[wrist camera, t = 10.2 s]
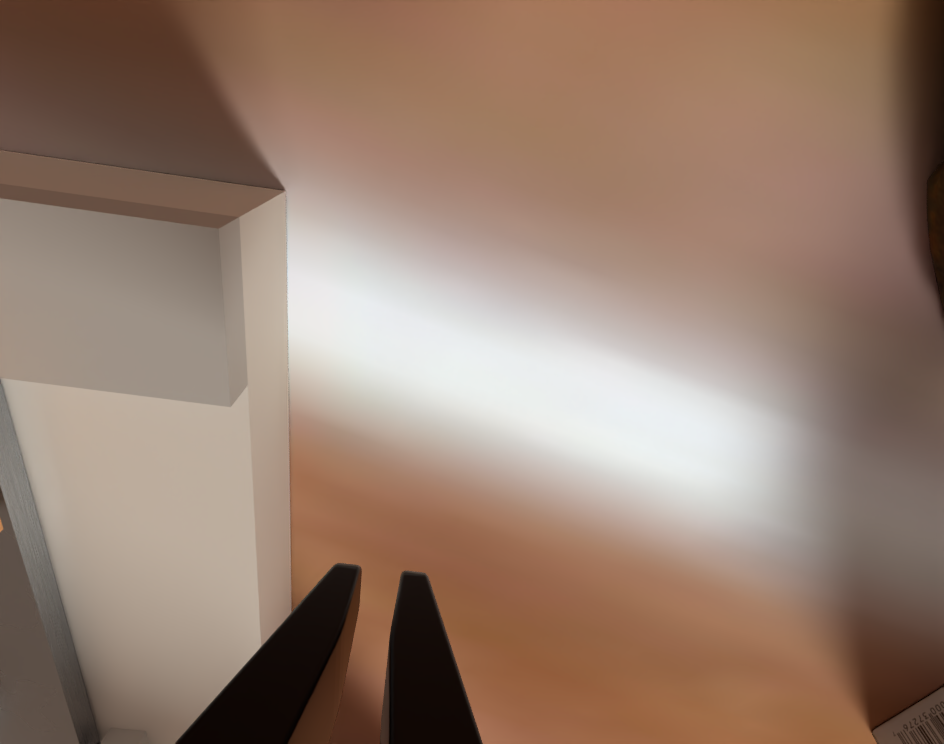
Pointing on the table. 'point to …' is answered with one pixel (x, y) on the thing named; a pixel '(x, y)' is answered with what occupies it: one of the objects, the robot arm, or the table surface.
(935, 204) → the hand tool
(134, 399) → the mount block
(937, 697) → the coffee box
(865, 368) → the table surface
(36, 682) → the grey flat bar
